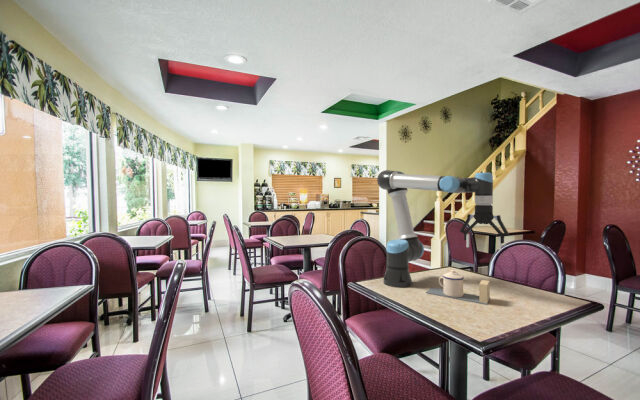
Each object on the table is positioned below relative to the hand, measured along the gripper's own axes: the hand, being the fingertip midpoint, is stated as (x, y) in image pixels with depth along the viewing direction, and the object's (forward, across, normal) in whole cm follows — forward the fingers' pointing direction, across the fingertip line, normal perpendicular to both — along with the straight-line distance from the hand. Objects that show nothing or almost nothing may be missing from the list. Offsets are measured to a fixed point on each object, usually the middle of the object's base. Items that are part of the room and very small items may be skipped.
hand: (483, 248), depth 136 cm
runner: (+22, -9, -10) cm, 26 cm away
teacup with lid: (+22, -12, -10) cm, 27 cm away
